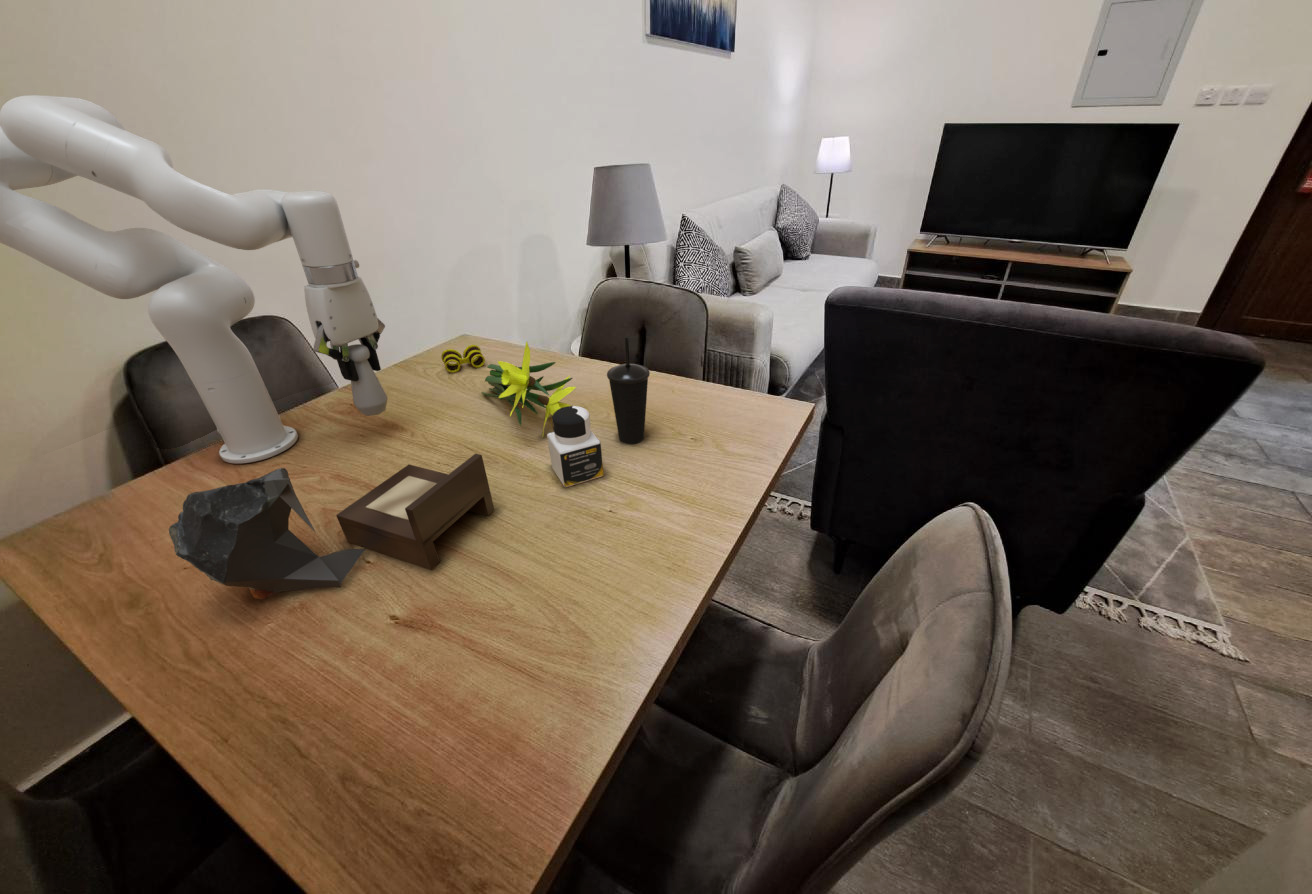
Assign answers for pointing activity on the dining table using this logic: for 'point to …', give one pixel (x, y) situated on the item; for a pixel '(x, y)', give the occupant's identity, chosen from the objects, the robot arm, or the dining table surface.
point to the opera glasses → (468, 357)
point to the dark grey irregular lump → (254, 539)
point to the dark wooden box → (416, 510)
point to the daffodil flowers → (526, 386)
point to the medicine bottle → (574, 447)
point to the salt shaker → (366, 383)
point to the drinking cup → (629, 398)
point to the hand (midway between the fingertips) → (362, 373)
